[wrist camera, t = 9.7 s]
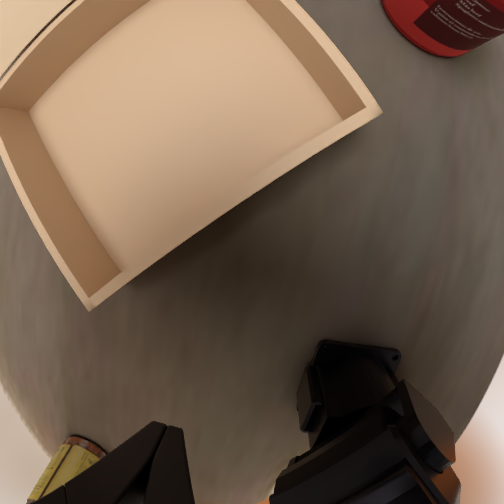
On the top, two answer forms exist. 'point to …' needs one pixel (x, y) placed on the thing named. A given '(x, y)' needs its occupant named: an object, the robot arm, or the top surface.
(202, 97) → the carton
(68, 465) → the sauce bottle
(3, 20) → the carton flap
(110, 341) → the top surface
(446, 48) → the canned food
